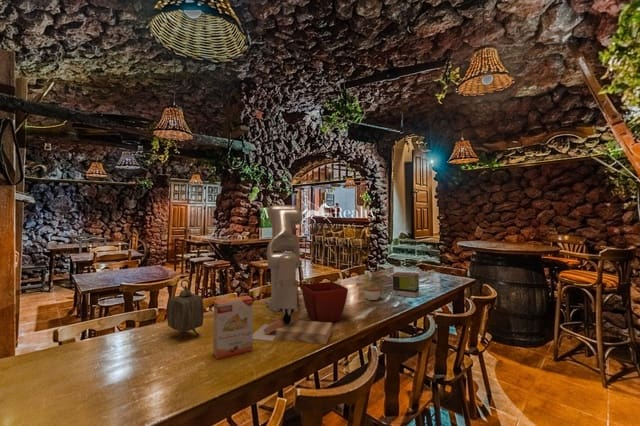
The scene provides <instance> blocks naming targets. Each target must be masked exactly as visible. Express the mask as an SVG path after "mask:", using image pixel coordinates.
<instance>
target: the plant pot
mask: <svg viewBox="0 0 640 426" xmlns="http://www.w3.org/2000/svg"><path fill="white" fill-rule="evenodd" d="M300 286H301V294H302V299H303V302H304V304H303V305H304V307H305V311H306V313H307V316H308V318H310V320H311V321H315V322H328V323H335V322H339V321H340V320H341V317H342V314H343V312H344V308H345V307H346V301H347V299H348V297H347V296H348V292H349V289H348V287H345V286H343V285H341V284H339V283H336V282H335V281H328V282H327V281H325V282H323V281H322V282H312V283H302V284H301V285H300Z"/></svg>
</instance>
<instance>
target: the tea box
mask: <svg viewBox="0 0 640 426" xmlns="http://www.w3.org/2000/svg"><path fill="white" fill-rule="evenodd" d="M419 281H420V277H419V273H418V272H417V273H416V272H406V271H405V272H404V271H396V272H394V273H393V274H392V289H393V290H392V294H394V295H393V296H397V295H400V296H399V297H405V296H406V297H405V298H414V299H416V298H417V297H419V296H420V282H419Z"/></svg>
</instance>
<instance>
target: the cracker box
mask: <svg viewBox="0 0 640 426" xmlns="http://www.w3.org/2000/svg"><path fill="white" fill-rule="evenodd" d="M253 320H254V298H252V297H251V296H249V295H243V296H236V297H229V298H221V299H216V300H215V299H214V300H213V346H212V347H213V351H212V352H213V356H215V358H216V360H219V359H223V358H226V357H227V358H228V357H231V356H236V355H239V354H244V353H248V352H253V344H254V343H253V342H254V341H253V334H254V332H253V329H254V321H253Z"/></svg>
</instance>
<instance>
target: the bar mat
mask: <svg viewBox="0 0 640 426" xmlns="http://www.w3.org/2000/svg"><path fill="white" fill-rule="evenodd" d="M268 325H269V323H264V324H263V325H262V326H260V327H259V328H258V329H257V330H256V331H255V332H253V340H254V341H266V342H273V341H274V340H276V330H277V329H278V328H277V329H276V330H274V331H272V332H270V333H269V334H267V335H266V334H265V332H264V331H263V330H264V329H265V328H266V327H267V326H268Z"/></svg>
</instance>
